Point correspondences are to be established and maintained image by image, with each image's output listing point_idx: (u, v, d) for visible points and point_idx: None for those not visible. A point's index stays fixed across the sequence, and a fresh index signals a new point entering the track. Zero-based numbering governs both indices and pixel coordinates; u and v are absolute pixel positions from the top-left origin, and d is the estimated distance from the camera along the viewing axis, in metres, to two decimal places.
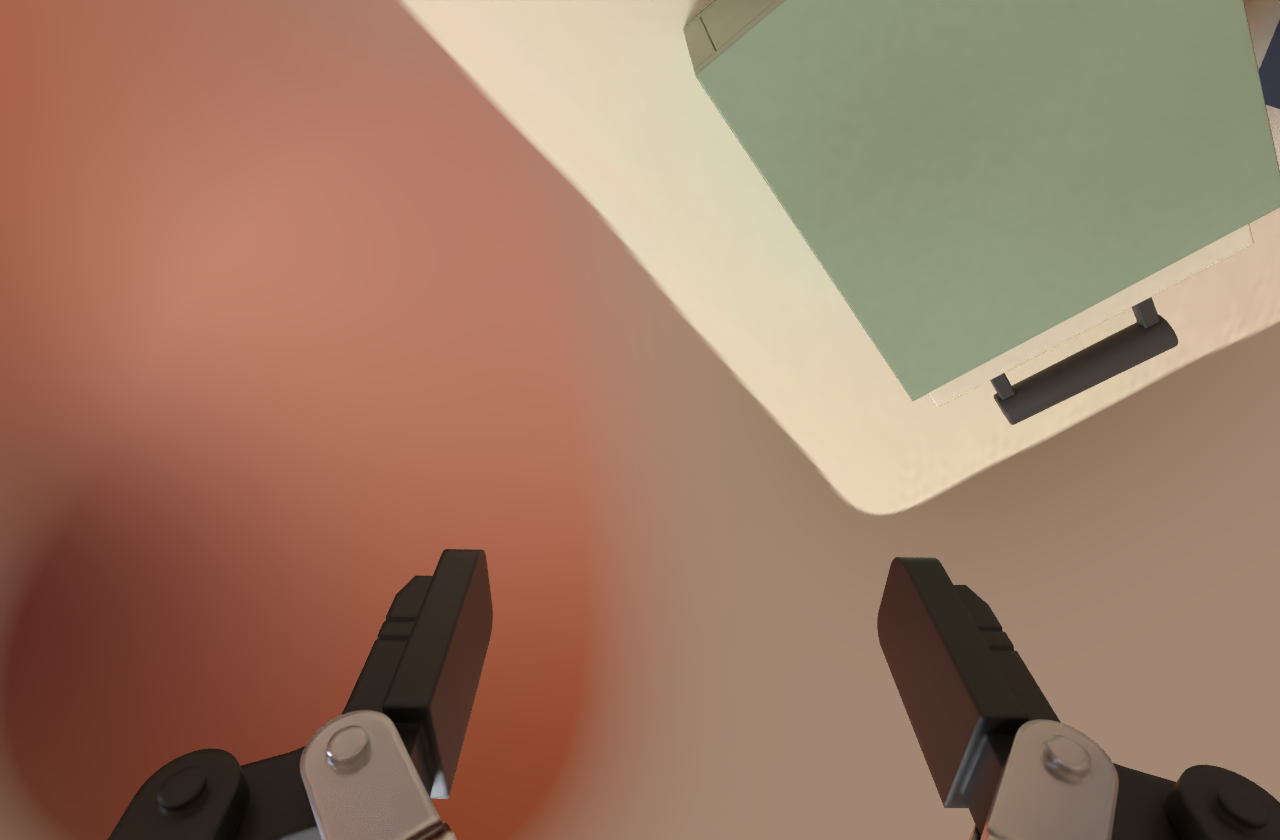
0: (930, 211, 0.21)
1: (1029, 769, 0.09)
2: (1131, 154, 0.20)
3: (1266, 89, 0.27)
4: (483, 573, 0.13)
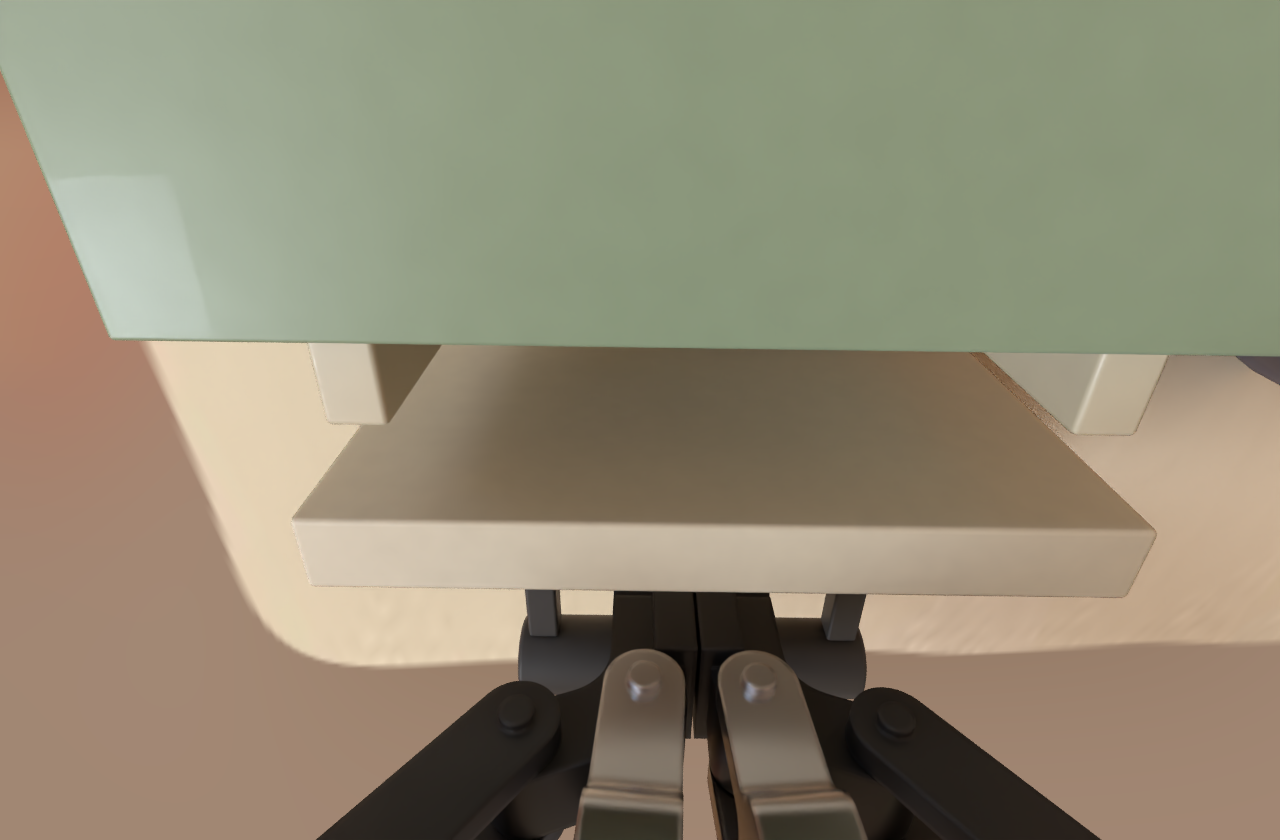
0: None
1: (741, 710, 0.09)
2: None
3: None
4: None
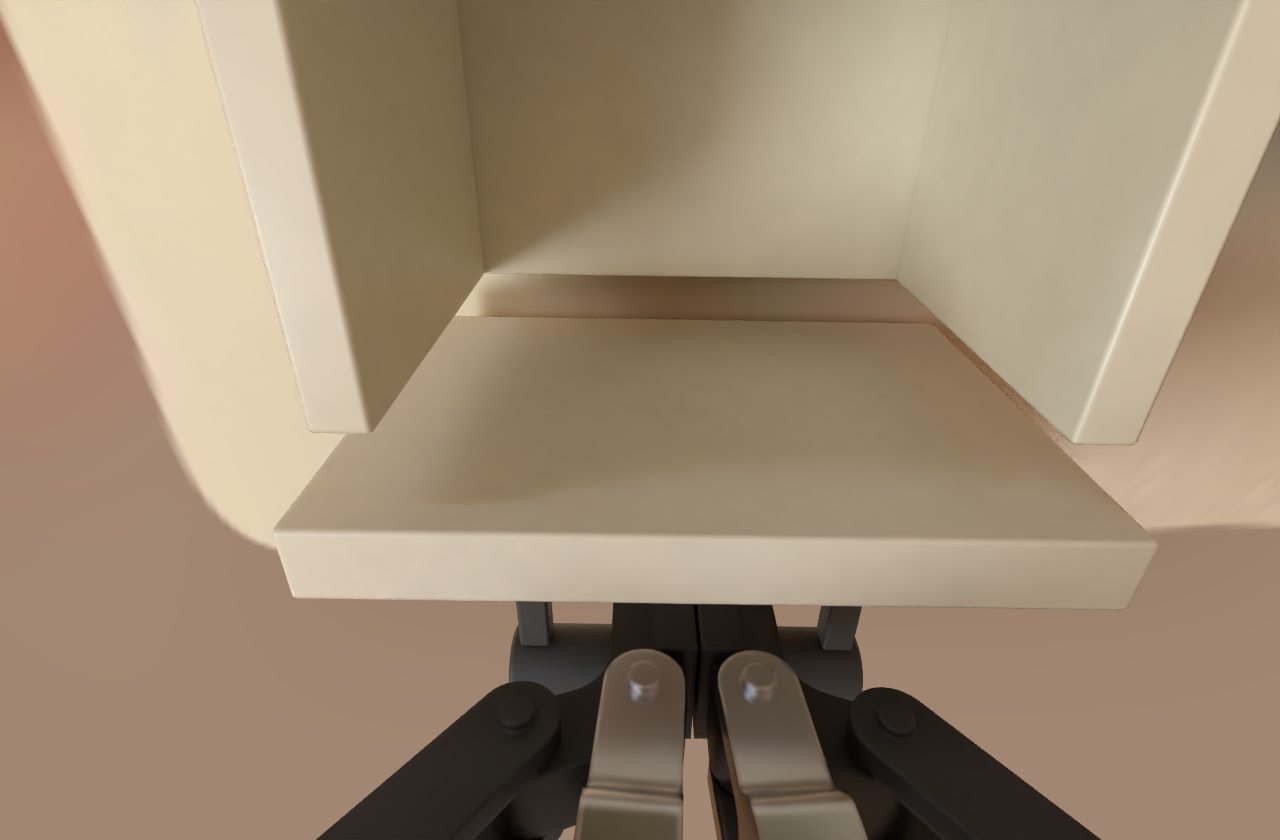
0: None
1: (741, 710, 0.09)
2: None
3: None
4: None
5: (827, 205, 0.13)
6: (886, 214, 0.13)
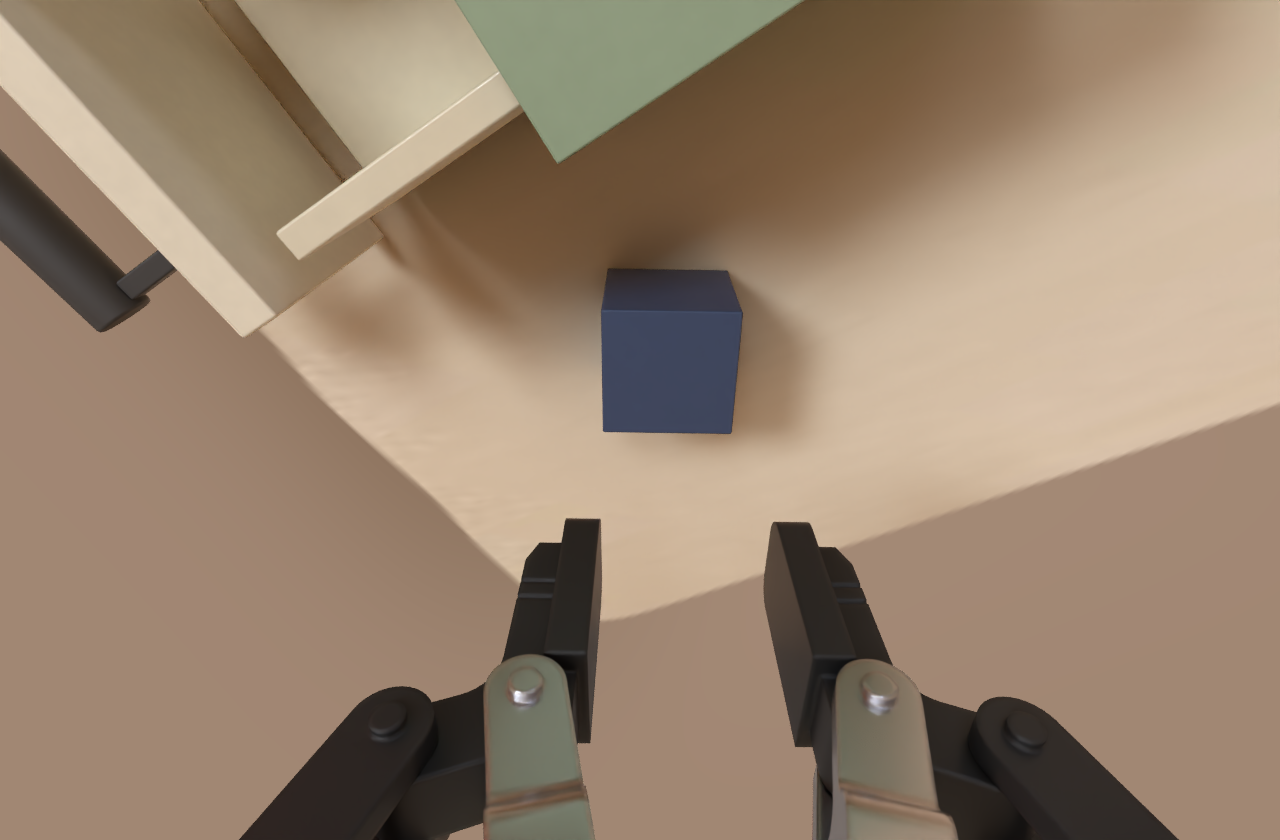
0: None
1: (854, 713, 0.09)
2: None
3: (621, 275, 0.24)
4: (600, 541, 0.14)
5: (373, 108, 0.20)
6: None
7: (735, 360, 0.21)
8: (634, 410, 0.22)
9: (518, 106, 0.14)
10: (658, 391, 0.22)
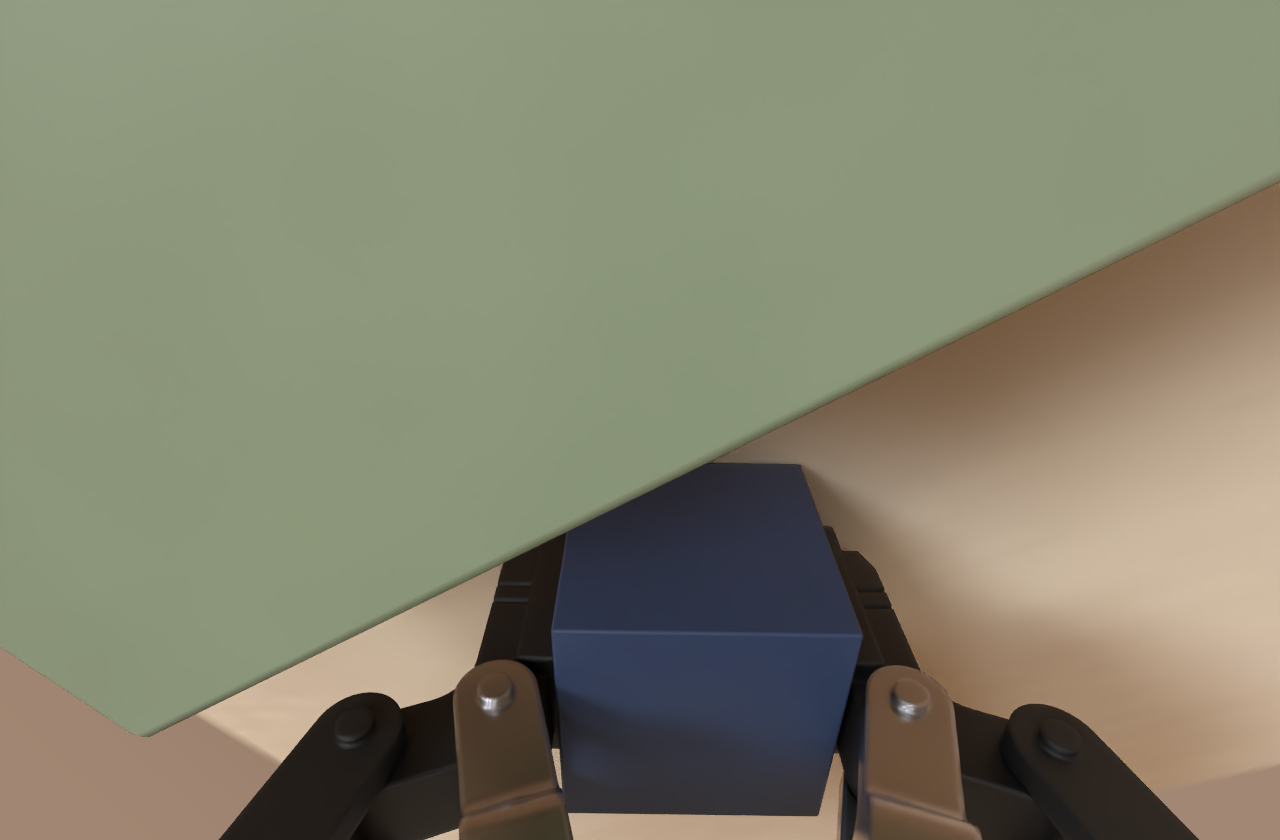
0: None
1: (884, 718, 0.09)
2: None
3: None
4: None
5: None
6: None
7: (839, 713, 0.10)
8: (625, 784, 0.11)
9: None
10: (674, 757, 0.11)
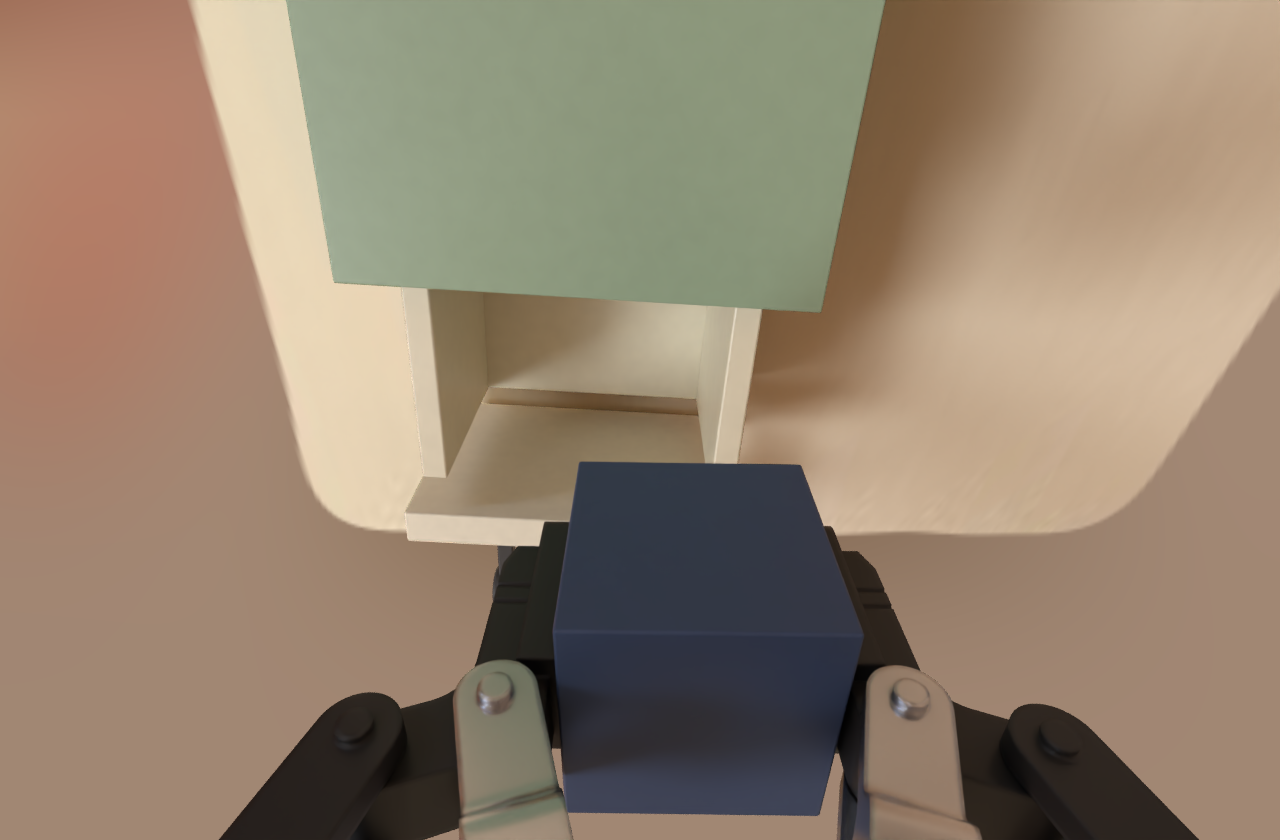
0: None
1: (884, 718, 0.09)
2: (710, 110, 0.15)
3: (603, 483, 0.12)
4: None
5: (659, 364, 0.26)
6: (688, 369, 0.27)
7: (840, 713, 0.10)
8: (626, 783, 0.11)
9: None
10: (675, 757, 0.11)
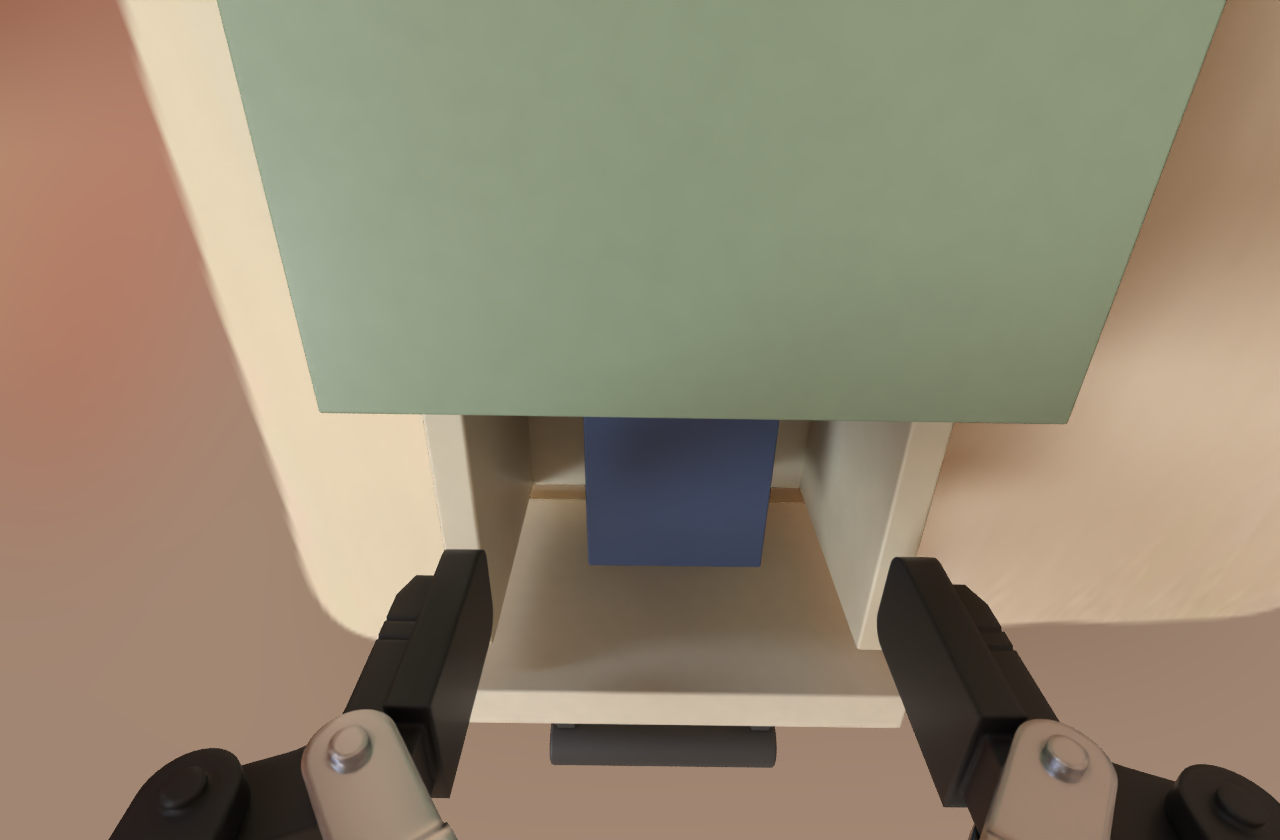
0: None
1: (1028, 769, 0.09)
2: (925, 123, 0.09)
3: None
4: (484, 573, 0.13)
5: None
6: (790, 453, 0.20)
7: (768, 478, 0.16)
8: (630, 539, 0.17)
9: None
10: (662, 516, 0.16)
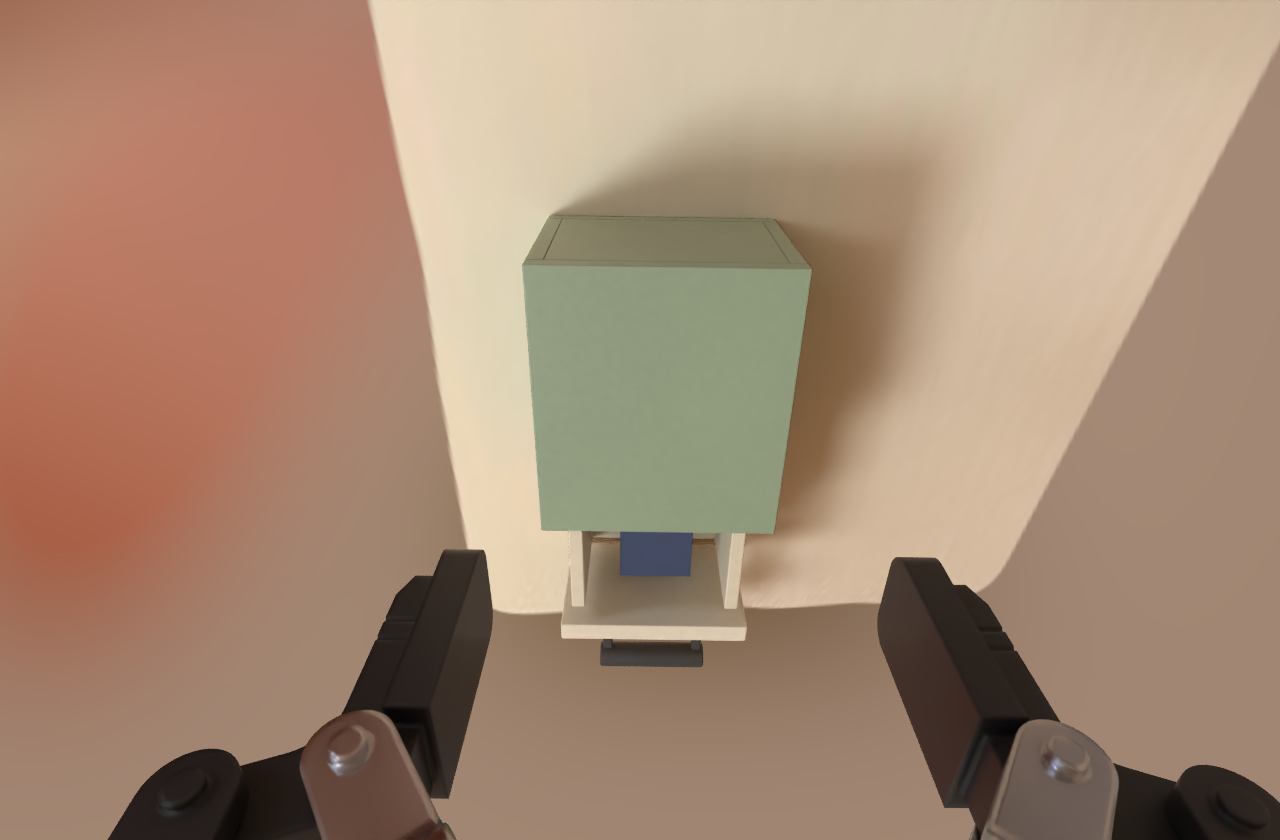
0: (608, 424, 0.33)
1: (1029, 769, 0.09)
2: (717, 461, 0.34)
3: None
4: (483, 573, 0.13)
5: None
6: None
7: (690, 542, 0.40)
8: (637, 565, 0.41)
9: None
10: (649, 556, 0.41)
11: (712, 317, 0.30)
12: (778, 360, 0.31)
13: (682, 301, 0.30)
